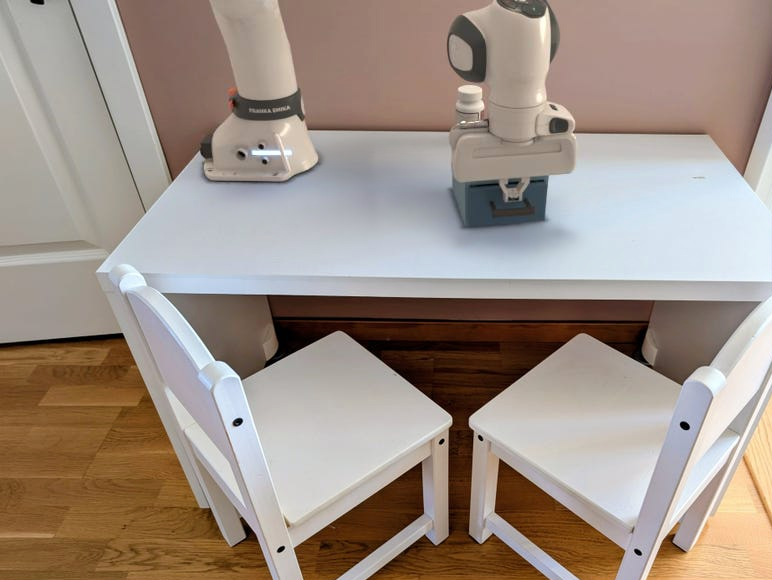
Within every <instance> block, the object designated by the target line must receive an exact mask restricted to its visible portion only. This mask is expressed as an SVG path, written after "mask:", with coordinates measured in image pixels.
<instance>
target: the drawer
mask: <svg viewBox="0 0 772 580" xmlns="http://www.w3.org/2000/svg"><path fill="white" fill-rule="evenodd" d="M519 182H520V181H519ZM519 182H508V184H505V186H506V188H516V187H517V185H518V183H519ZM547 187H548V188H549V183H548V184H547V183H546V182H540V180H533V181H530V183H529V184H528V186H527V187H526V189H525V190H524V191H523V192H522V201H516V202H504V200H503V190H502V188H501V187H500V185H499V183H493V184H479V185H469V225H470V226H469V227H471V228H472V227H484V226H495V225H509V224H518V223H519V224H520V223H521V224H522V223H531V222H532V223H533V222H543V221H545V220H546V211H545V208H546V209H547V200H546V198H547V197H548V190H547ZM547 199H548V198H547ZM544 219H545V220H544Z"/></svg>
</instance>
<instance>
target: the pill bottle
mask: <svg viewBox="0 0 772 580" xmlns="http://www.w3.org/2000/svg"><path fill="white" fill-rule="evenodd" d="M457 99H458V100H457V101H456V103H455V125H456V124H459V122H460V121H473V120H481V119H485V103H484V101H483V100H482V99H483V89H482V87H481V86H479V85H474V84H466V85H461V86H459V87H458V88H457ZM457 128H459V127H457Z"/></svg>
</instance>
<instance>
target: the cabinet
mask: <svg viewBox="0 0 772 580" xmlns="http://www.w3.org/2000/svg"><path fill="white" fill-rule="evenodd" d="M549 178H550V175H548V176H535V177H530V181H533V180H540V182H546V183H547V184H548V185H549V180H550V179H549ZM519 181H520V179H519V178H510V179H508V182H519ZM451 182H452V183H451V185H452V192H453V195H454V199H455V201H456V204H457V206H458V210H459V213H460V217H461V219H462V222H463V224H464V227H467V228H468V227H470V225H469V185H479V184H493V183H498V181H497V180H485V181H472V182H458V181H457V180H456V179H455V178H454V176H453V174H452V173H451ZM548 189H549V186H548V187H547V191H549V190H548ZM547 199H548V198H546V201H547ZM546 209H547V207H546V208H545V212H547V211H546ZM545 220H546V218H545V219H544V221H545Z"/></svg>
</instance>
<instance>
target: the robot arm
mask: <svg viewBox="0 0 772 580" xmlns="http://www.w3.org/2000/svg"><path fill="white" fill-rule="evenodd" d="M208 1H209V4H210V7H211V10H212V13H213V15H214V18H215V21H216V24H217V26H218V28H219V31H220V33H221V37H222V38H223V41H224V44H225V46H226V50H227V53H228V56H229V61H230V65H231V69H232V73H233V77H234V82H235V86H236V87H231V88H230V89H229V91H228V103H229V108H230V110H231V112H232V113H231V114H230V115H229V116H227V118H226V119H225V120H223V122H222V123H221V124H220V125H219V126H218V127H217V128H216V129H215V131H214V133H207V134H206V135H205V137H204V138H203V139H202V140H201V142H200V148H199V152H200V155H201V157H203V159H205V160H204V164H203V170H204V175H205V177H206V178H207V179H208V180H209V181H221V182H222V181H224V182H225V181H226V182H229V181H231V182H284V181H287V180H289V179H291V178H292V177H293V176H296V175H298V174H300V173H303V172H306V171H307V170H309V169H311V168H313V167H315V165H316V164H317V163H318V161H319V155H318V153H317V150H316V148H315V146H314V144H313V141H312V140H311V139H312V138H311V137H310V133H309V131H308V127H307V123H306V120H305V118H306V110H305V109H306V108H305V104H304V98H303V94H302V92H301V88H300V86H298V82H297V77H296V70H295V65H294V60H293V55H292V54H293V53H292V50H291V49H292V48H291V43H290V41H289V39H288V35H287V32H286V29H285V24H284V21H283V17H282V14H281V10H280V5H279V0H208ZM560 30H561V29H560V25H559V22H558V19H557V17H556V14H555V13H554V11H553V9H552V7H551V5H550V4H549V2H548V0H493V1H492V2H491V3H490V4H488V5H487V6H485V7H482V8H479V9H476V10H471V11H467V12H464V13H462V14H459V15H457V16H456V17H455V19H454V20H453V21H452V23H451V25H450V27H449V30H448V34H447V38H446V53H447V59H448V63H449V65H450V68H451V69H452V70H453V71H454V72H455V73H456V75H458V76H459V77H460V78H461V79H462V80H464V81H466V82H469V83H475V84H485V85H486V86H487V87H488V92H487V93H488V94H487V118H484V119H481V120H473V121H460V122H459V124H456V123H455V124H454V125H453V126H452V127H451V129H450V130H449V133H448V134H449V135H448V136H449V137H448V138H449V139H448V140H449V145H450V148H451V159H450V160H451V161H450V166H451V167H450V169H451V170H450V171H451V175H452V174H453V176H454V178H455V179H456V180H457V181H458V182H472V181H485V180H497V181H498V183H499V185H500V187H501V188H502V190H503V200H504V202H516V201H522V192H523V191H524V190H525V189H526V187H527V186H528V184H529V183H530V177H535V176H548V175H549V176H559V175H570V174H572V173H573V171H575V169H576V168H577V162H578V141H577V140H578V139H577V137H576V135H575V134H574V130H575V128H576V120H575V118H574V117H573V115H572V114H571V113H570V111H569V110H568V109H567V108H566V107H565V106H563V105H562V104H560V103H555V102H552V101H548V100H547V97H548V95H547V90H546V79H547V76H548V74H549V70H550V65H551V63H552V62H553V60H554V59H555V56H556V55H557V52H558V50H559V47H560V42H561V31H560ZM457 127H459V128H457ZM510 178H519V179H520V182H519V183H518V185H517V187H516V188H506V186H505V184H508V179H510Z"/></svg>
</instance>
